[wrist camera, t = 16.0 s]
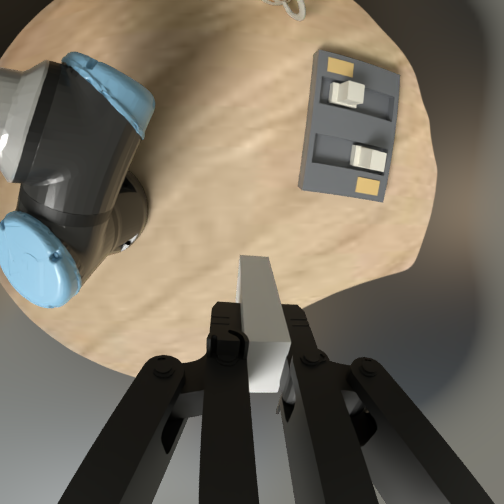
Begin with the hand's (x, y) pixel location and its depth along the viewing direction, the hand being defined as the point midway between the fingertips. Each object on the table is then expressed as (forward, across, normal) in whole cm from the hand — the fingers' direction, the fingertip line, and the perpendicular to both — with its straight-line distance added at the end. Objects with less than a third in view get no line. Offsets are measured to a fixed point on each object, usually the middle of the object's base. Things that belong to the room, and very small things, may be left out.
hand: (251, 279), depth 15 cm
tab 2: (+28, +18, +7) cm, 34 cm away
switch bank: (+29, +16, +12) cm, 35 cm away
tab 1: (+28, +14, +16) cm, 35 cm away
